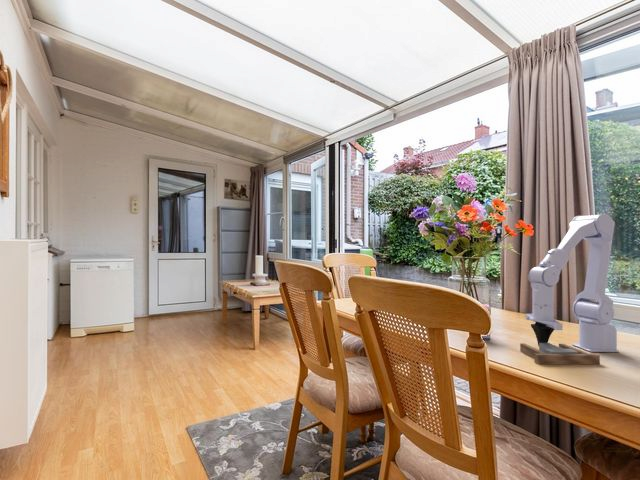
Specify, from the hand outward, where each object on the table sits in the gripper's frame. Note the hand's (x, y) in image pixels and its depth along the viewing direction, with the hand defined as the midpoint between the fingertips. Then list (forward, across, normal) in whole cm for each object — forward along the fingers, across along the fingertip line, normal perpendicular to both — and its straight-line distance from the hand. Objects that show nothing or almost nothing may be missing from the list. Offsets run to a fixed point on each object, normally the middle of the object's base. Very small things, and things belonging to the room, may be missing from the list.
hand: (542, 347), depth 109 cm
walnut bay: (+1, +5, 0) cm, 5 cm away
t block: (+1, +5, 0) cm, 5 cm away
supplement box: (+2, -16, -12) cm, 20 cm away
